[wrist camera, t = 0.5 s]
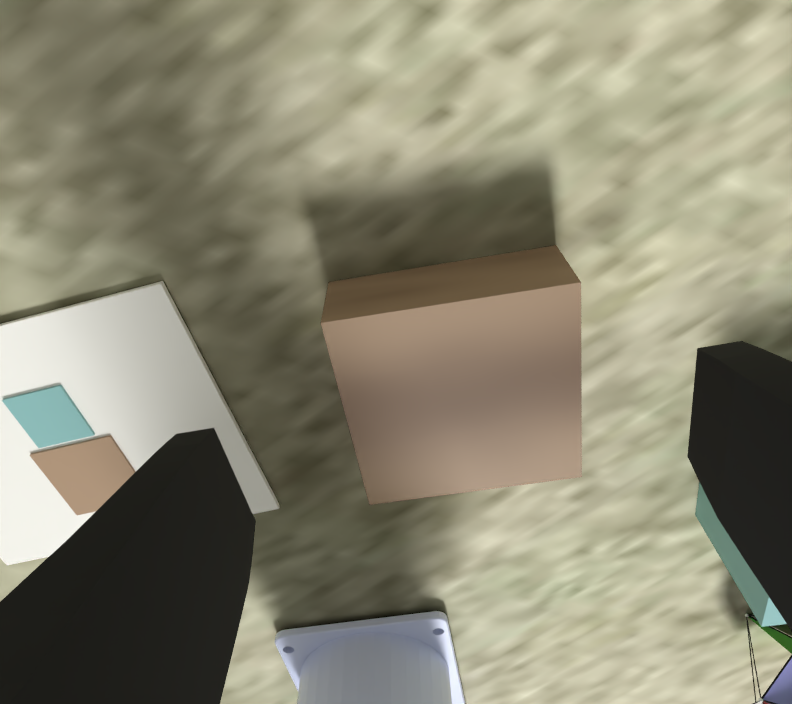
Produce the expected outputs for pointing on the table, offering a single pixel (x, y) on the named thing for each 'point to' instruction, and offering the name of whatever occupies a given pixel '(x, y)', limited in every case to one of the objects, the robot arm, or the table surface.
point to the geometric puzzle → (788, 694)
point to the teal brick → (737, 565)
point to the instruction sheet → (100, 412)
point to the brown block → (460, 373)
